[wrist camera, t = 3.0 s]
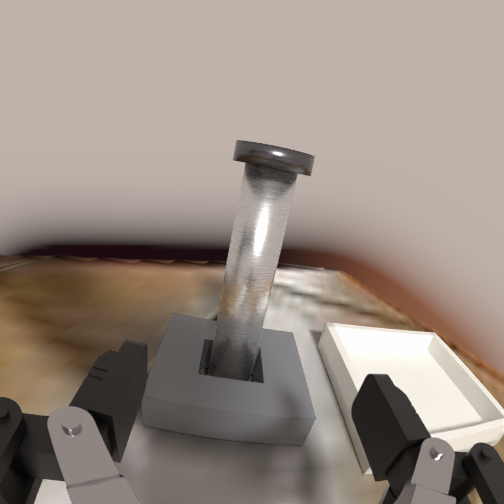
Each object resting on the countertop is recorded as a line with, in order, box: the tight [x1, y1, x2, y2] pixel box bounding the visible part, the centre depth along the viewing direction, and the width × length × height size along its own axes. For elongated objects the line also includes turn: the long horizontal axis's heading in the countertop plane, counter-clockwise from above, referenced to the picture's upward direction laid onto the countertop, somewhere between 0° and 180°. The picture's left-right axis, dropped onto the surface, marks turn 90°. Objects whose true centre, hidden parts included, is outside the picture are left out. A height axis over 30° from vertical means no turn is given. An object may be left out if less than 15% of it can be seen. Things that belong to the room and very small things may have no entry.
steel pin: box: [208, 140, 314, 381], centre depth 21 cm, size 5×5×18 cm
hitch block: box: [142, 313, 316, 445], centre depth 23 cm, size 11×11×3 cm
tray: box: [317, 322, 504, 475], centre depth 25 cm, size 15×17×3 cm
